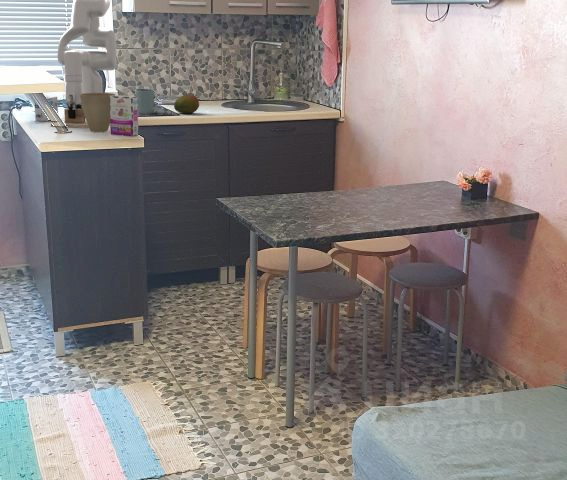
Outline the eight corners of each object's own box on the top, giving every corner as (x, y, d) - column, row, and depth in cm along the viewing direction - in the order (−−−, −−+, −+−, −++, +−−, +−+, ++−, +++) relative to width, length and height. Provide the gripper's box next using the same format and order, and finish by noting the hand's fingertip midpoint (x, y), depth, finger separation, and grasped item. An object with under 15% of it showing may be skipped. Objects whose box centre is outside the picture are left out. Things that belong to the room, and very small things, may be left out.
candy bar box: (139, 135, 342) (138, 96, 338) (132, 136, 338) (132, 97, 333) (116, 133, 346) (115, 94, 342) (109, 134, 341) (109, 95, 337)
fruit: (201, 114, 420) (202, 95, 417) (179, 115, 414) (179, 95, 411) (193, 112, 430) (193, 93, 427) (171, 112, 424) (171, 93, 421)
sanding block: (68, 121, 367) (67, 108, 366) (85, 122, 367) (85, 108, 366) (64, 122, 363) (64, 109, 361) (82, 123, 362) (81, 110, 361)
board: (60, 122, 371) (60, 119, 371) (98, 124, 370) (98, 121, 370) (50, 126, 359) (50, 123, 359) (90, 128, 358) (90, 125, 358)
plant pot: (103, 127, 360) (102, 91, 356) (122, 131, 350) (122, 94, 346) (74, 130, 350) (73, 93, 345) (93, 134, 340) (92, 96, 336)
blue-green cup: (145, 111, 426) (144, 88, 423) (158, 113, 420) (158, 89, 417) (131, 112, 418) (130, 89, 415) (145, 114, 412) (144, 90, 409)
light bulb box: (48, 121, 374) (47, 98, 371) (34, 120, 375) (33, 97, 372) (58, 119, 384) (57, 96, 381) (45, 118, 385) (44, 95, 382)
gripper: (71, 76, 368) (73, 114, 373) (59, 80, 352) (60, 119, 356) (87, 77, 368) (89, 115, 373) (76, 80, 351) (77, 120, 356)
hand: (75, 117), depth 365 cm, fingers open, 9 cm apart
